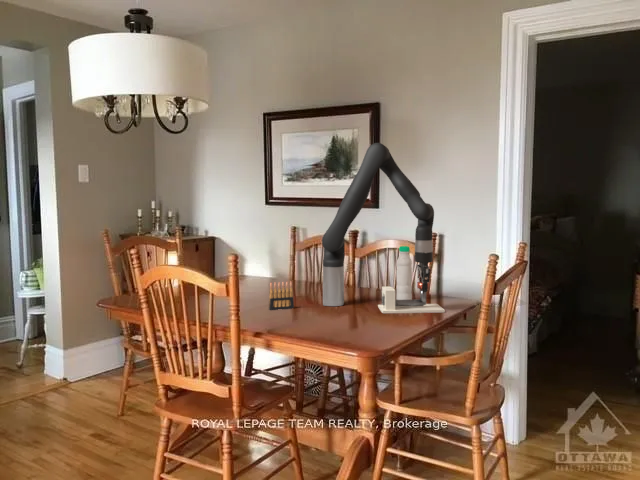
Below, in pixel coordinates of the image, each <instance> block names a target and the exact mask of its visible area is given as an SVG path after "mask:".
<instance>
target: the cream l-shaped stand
mask: <svg viewBox="0 0 640 480" xmlns="http://www.w3.org/2000/svg"><path fill="white" fill-rule="evenodd" d="M382 296H385V305H382V304H377V307H378V309H379V311H380V312H381V313H382V314H420V313H421V314H428V313H429V314H430V313H432V314H433V313H446V310H445V309H444V308H443V307H442V306H440V305H439V304H438V303H426V305H424V306H395V300H396V289H394V287H393V286H381V297H382Z"/></svg>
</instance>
